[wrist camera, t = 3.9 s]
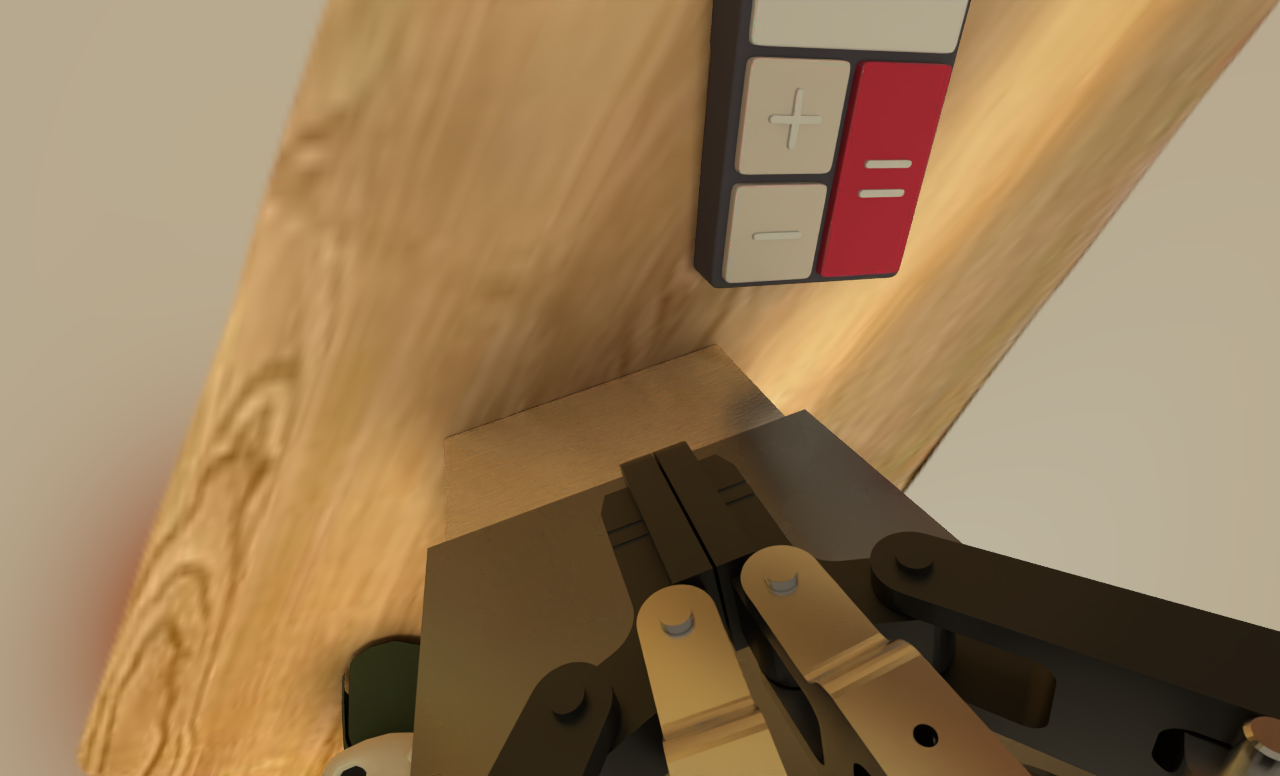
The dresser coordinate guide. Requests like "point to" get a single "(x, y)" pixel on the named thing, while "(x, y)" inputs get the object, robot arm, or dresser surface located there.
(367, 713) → the character mug
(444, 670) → the lid
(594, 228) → the dresser surface
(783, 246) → the calculator
